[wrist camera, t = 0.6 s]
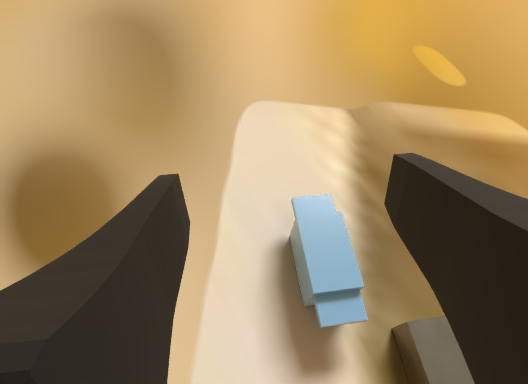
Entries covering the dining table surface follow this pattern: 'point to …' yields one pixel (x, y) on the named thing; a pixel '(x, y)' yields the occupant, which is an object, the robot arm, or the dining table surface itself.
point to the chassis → (431, 352)
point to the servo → (326, 262)
